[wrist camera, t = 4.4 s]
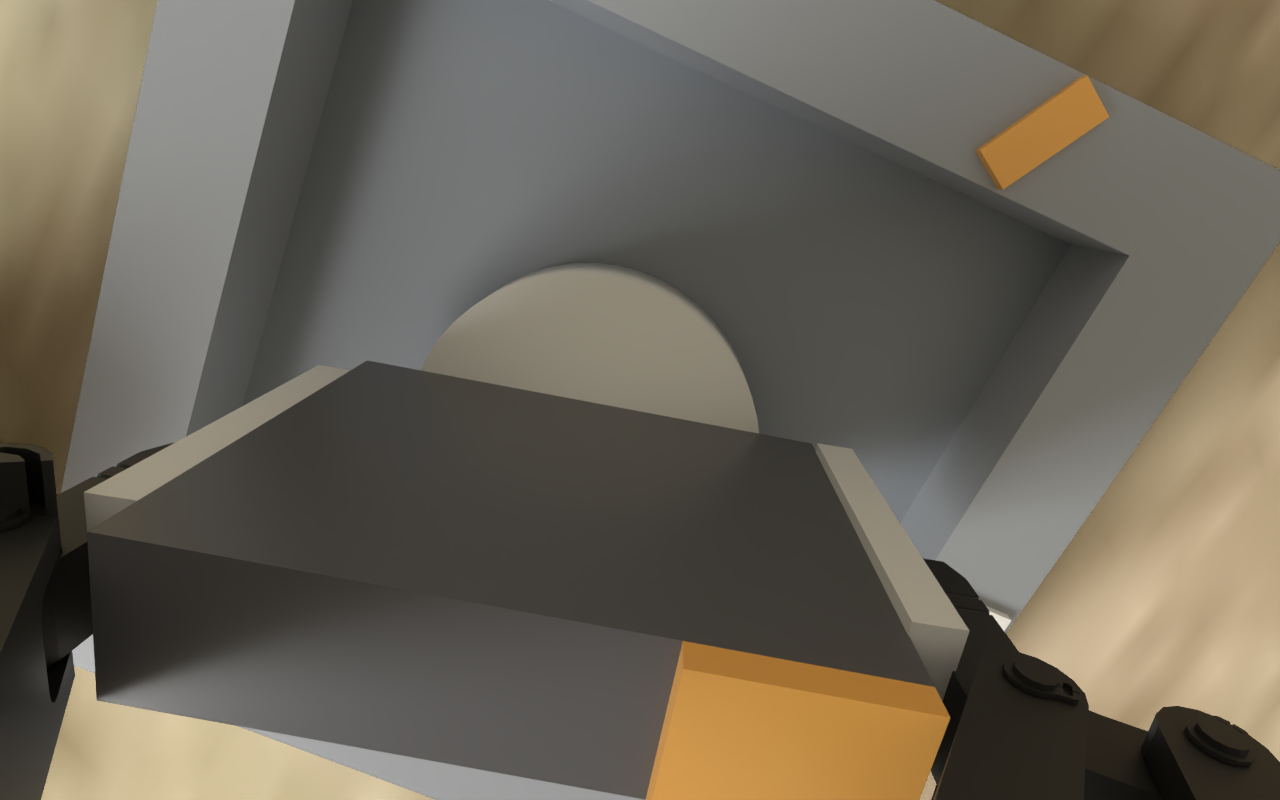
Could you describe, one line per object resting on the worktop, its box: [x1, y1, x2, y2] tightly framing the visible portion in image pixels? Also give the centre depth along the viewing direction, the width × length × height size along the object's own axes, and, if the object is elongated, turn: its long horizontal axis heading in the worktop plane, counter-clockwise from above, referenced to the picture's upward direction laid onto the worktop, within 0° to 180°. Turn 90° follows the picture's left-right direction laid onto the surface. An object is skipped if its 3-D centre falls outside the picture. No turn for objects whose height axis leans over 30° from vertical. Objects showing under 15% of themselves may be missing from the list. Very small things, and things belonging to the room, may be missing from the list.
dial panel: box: [61, 0, 1280, 800], centre depth 18 cm, size 22×22×4 cm
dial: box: [87, 263, 950, 800], centre depth 13 cm, size 10×8×10 cm
